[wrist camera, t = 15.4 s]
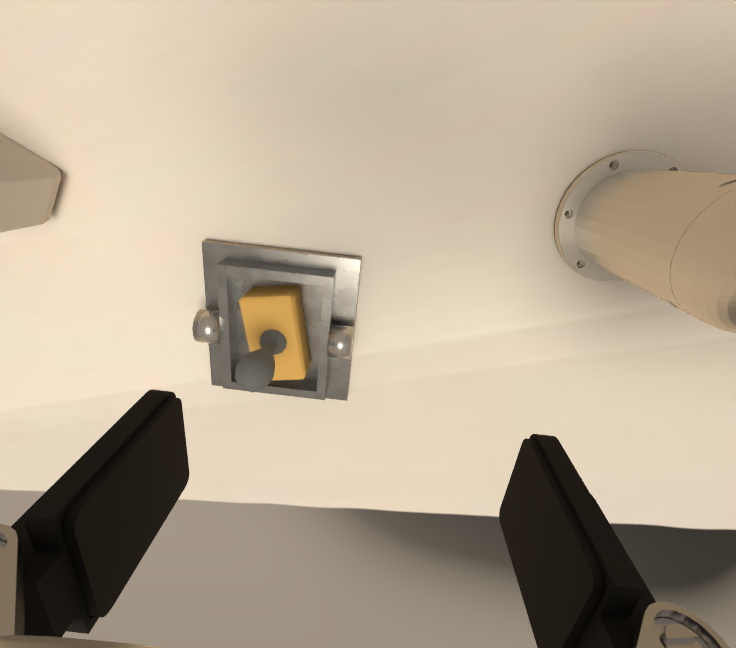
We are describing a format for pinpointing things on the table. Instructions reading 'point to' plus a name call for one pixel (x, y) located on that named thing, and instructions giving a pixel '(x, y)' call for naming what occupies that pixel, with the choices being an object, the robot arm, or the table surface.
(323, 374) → the grey metal square tray
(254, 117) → the table surface
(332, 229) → the table surface
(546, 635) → the robot arm
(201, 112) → the table surface
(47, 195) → the grey control panel
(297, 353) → the rubber stamp
